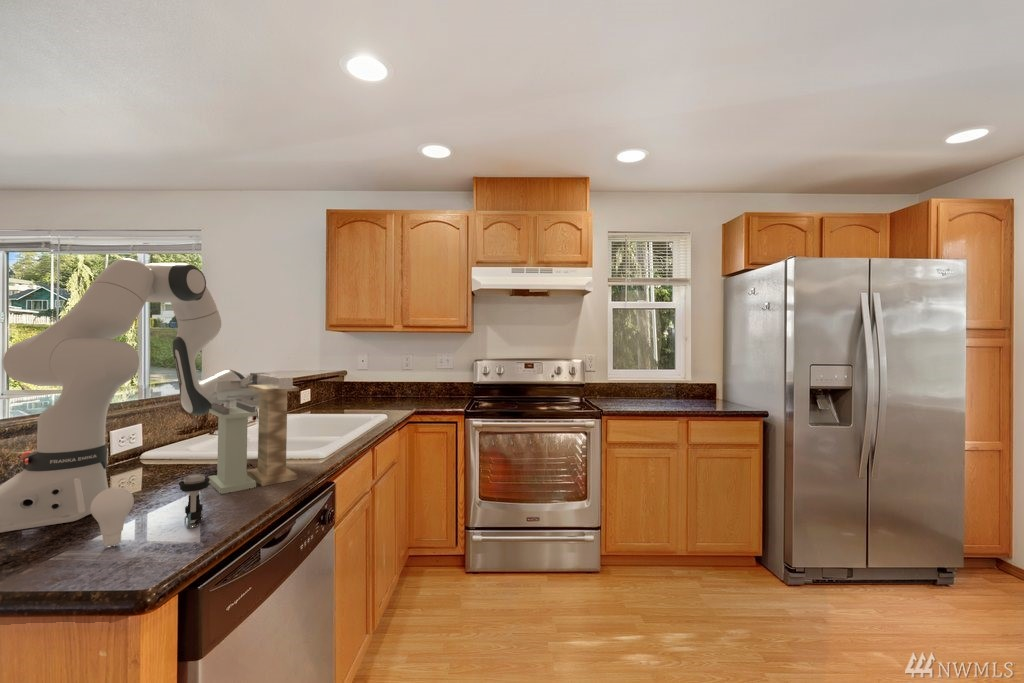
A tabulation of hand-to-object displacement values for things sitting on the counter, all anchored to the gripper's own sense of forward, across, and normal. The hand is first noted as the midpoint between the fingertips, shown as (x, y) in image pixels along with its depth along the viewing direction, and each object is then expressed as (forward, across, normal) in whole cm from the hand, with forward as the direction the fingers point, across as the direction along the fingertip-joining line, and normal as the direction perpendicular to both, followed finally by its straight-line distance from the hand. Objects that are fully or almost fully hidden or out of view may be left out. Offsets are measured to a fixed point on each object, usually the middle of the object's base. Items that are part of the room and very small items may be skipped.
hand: (260, 376), depth 137 cm
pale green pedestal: (-4, -10, +30) cm, 32 cm away
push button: (+18, -23, +43) cm, 52 cm away
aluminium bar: (+8, 0, +7) cm, 10 cm away
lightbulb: (+20, -36, +44) cm, 60 cm away
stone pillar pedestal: (-4, 0, +30) cm, 30 cm away
